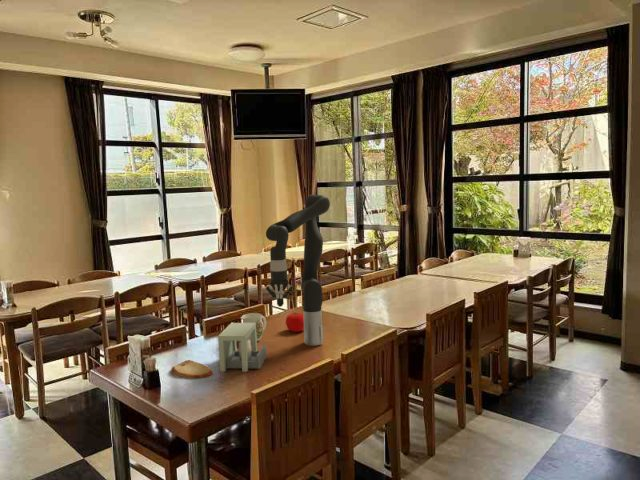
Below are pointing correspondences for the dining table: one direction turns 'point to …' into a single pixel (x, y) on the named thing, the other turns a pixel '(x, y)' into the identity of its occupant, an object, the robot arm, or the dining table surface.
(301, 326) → the tomato
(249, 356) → the cream rounded cylinder
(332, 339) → the dining table surface
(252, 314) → the pitcher
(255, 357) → the tray
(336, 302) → the dining table surface
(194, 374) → the slice of bread
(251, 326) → the miniature white stool
